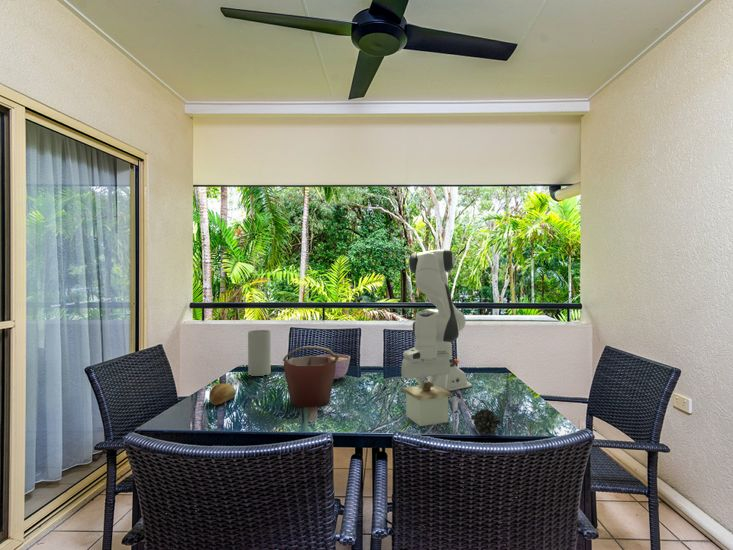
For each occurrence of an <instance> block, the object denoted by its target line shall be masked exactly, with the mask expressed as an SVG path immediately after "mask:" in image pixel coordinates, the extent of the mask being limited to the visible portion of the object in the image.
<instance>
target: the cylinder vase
mask: <svg viewBox="0 0 733 550" xmlns="http://www.w3.org/2000/svg"><path fill="white" fill-rule="evenodd" d="M271 356H272V355H271V330H268V329H255V330H249V331H247V370H248V372H247V374H248V376H249V375H251V376H263V377H265V376H264V375H267V376H270V374H272V373H271V367H272V366H271V365H272V364H271V358H272V357H271ZM251 376H250V377H251Z"/></svg>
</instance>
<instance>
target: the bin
mask: <svg viewBox="0 0 733 550" xmlns="http://www.w3.org/2000/svg"><path fill="white" fill-rule="evenodd" d="M405 413H406V414H405V415H406V417H407V418H408V419H410V420H411V421H413V422H414V424H416V425H418V426H419V427H424V426H431V425H438V424H444V423H445V424H446V423H449V397H442V398H434V399H426V400H417V399H416V398H414V397H412V396H411V395H409V394H407V393H406V392H405Z"/></svg>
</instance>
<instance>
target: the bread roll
mask: <svg viewBox="0 0 733 550" xmlns="http://www.w3.org/2000/svg"><path fill="white" fill-rule="evenodd" d="M235 396H236V389H235V387H234V386H233V385H231V384H230V383H223V382H222V383H218V384H216V385H215V384H214V386H213V387H212V388H211V390H210V391H209V401H210V403H211V404H212V405H213V404H214V406H219V405H221V404H224V403H226V402H228V401H230V400H232V399H233V398H234V397H235ZM218 404H219V405H218Z"/></svg>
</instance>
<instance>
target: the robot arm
mask: <svg viewBox="0 0 733 550" xmlns="http://www.w3.org/2000/svg"><path fill="white" fill-rule="evenodd" d="M455 264H456V258H455V255H454V252H453V251H452V250H450V249H431V250H426V251H420V252H414V253H411V254H410V256H409V259H408V268H409V271H410V272H411V273H412V274H414V275H415V284H416V288H417V289H418V290H419V292H421V293H422V294H424V295H426V298H427V301H428V302H429V303H431V304H432V305H434V306H435V308H436V309H435V308H428V309H422V310H419V311H417V312H416V314H415V319H414V321H413V322H412V336H413V337H414V338H415V342H414V346H413V347H411V348H410V349H408V350H405V351H403V353H402V356H403V357H404V358H403V359H402V360H401V361H402V362H401V366H400V367H401V369H400V371H401V372H400V373H401V376H402V377H403V378H405V379H408V380H409V379H415V380H416V382H417V383H418V384H417V386H418V387H419V388H420V389H422V388H424V384H423V383H422V378H427V377H428V380H427V381H429V382H431V387H434V385H436V386H438V387H440V388H442V389H444V390H446V391H448V392H451V391H456V390H461V389H465V388H471V387H472V383H471V382H469V381H468V379H467V375H466V373H465V372H464V371H463V370H461V369H460V368H459V367H458V366H457V365H456V364H459V363H460V360H459V359H456V358H453V344H452V343H453V342H455V341H456V340H457V339H458V338H459V335H460V331H462V330H463V329H464V328H465V325H466V316H465V315H464V314H463V312H462V311H460V310H459V309H458V308H457V307H456V306H455V304H454V302H453V299H452V295H451V294H452V293H451V291H450V288H449V280H448V275H447V273H449V272H450V271H452V270H453V269H454V268H455Z"/></svg>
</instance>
